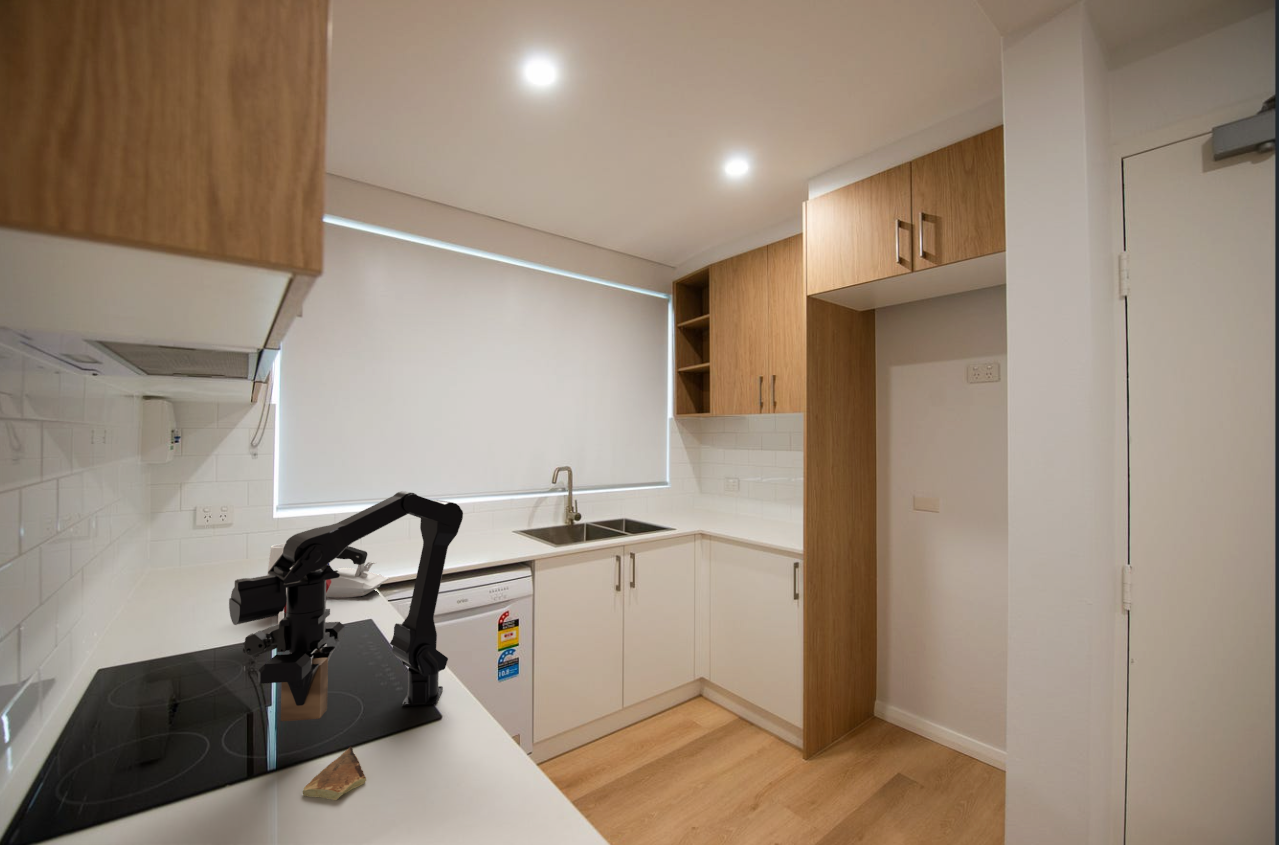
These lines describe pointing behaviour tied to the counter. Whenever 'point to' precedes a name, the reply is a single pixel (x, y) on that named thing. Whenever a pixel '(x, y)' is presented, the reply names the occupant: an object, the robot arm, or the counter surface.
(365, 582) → the iron
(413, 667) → the robot arm
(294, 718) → the walnut slab
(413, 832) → the counter surface
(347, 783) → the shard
